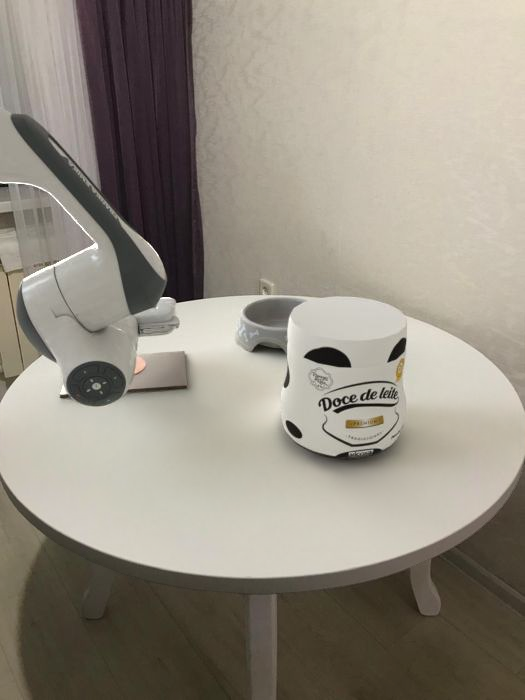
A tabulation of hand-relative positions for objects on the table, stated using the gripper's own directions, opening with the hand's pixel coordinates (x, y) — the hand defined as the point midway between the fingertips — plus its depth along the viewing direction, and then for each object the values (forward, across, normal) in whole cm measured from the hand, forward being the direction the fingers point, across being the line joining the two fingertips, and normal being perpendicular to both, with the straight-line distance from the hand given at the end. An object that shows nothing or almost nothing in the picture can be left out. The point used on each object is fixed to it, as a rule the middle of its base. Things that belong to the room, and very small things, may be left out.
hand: (114, 300), depth 97 cm
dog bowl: (+8, -30, +13) cm, 34 cm away
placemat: (-3, -1, +12) cm, 13 cm away
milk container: (-26, -32, +13) cm, 43 cm away
